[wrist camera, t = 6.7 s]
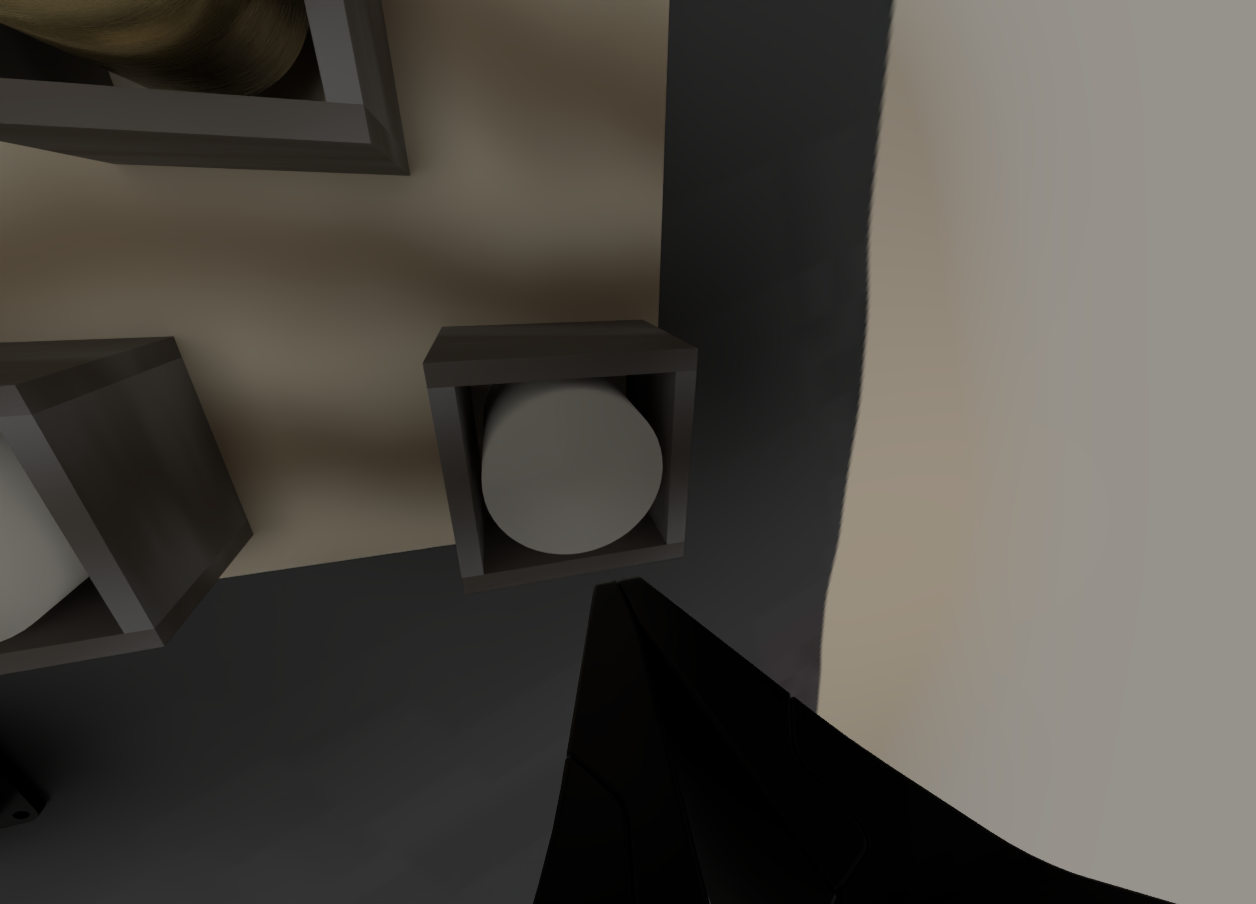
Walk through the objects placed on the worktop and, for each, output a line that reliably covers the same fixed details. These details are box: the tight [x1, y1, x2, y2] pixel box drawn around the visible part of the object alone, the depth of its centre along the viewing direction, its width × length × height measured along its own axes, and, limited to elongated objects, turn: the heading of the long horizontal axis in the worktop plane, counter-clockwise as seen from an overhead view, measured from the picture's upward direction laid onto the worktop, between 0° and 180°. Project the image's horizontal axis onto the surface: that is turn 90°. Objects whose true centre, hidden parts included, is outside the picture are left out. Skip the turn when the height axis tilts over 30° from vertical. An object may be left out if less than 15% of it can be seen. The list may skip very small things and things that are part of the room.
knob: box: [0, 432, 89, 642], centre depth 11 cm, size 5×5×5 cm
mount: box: [0, 0, 698, 675], centre depth 12 cm, size 20×22×6 cm
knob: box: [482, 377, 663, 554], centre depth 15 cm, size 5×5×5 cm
